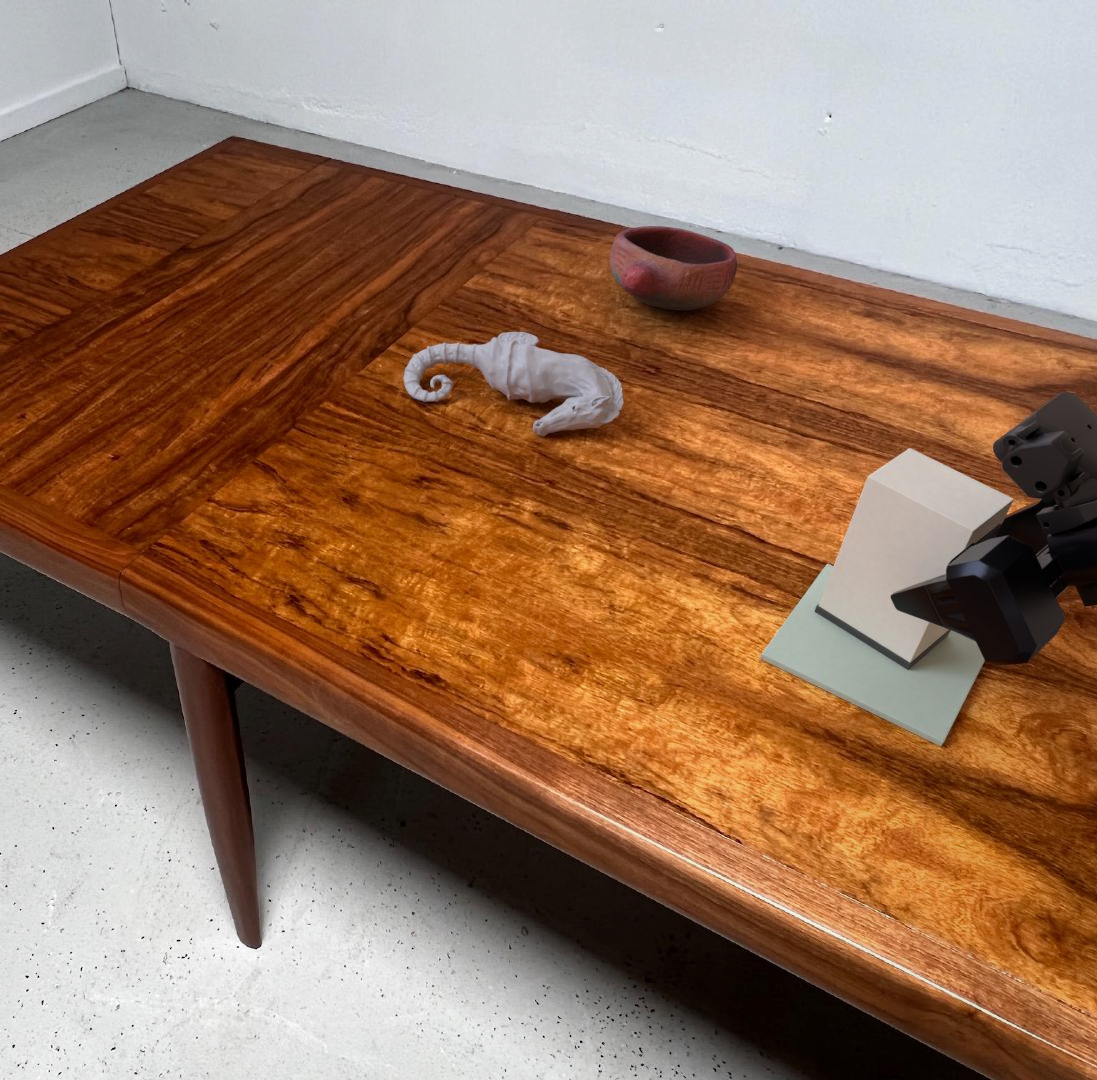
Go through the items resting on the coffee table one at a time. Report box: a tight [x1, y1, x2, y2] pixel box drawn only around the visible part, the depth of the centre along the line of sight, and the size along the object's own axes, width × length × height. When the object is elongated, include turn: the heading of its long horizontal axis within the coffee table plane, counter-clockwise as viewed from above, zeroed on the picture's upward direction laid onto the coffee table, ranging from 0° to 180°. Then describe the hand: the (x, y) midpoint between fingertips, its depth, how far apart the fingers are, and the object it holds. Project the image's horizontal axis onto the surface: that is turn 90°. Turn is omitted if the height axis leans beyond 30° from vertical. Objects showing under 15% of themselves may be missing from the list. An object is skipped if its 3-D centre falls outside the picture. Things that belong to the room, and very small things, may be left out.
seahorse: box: [402, 331, 624, 437], centre depth 95 cm, size 5×12×20 cm
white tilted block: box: [815, 447, 1015, 670], centre depth 70 cm, size 5×7×12 cm
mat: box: [759, 563, 986, 747], centre depth 73 cm, size 12×12×1 cm
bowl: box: [609, 225, 738, 311], centre depth 107 cm, size 16×13×8 cm
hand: (931, 571), depth 69 cm, fingers open, 9 cm apart
